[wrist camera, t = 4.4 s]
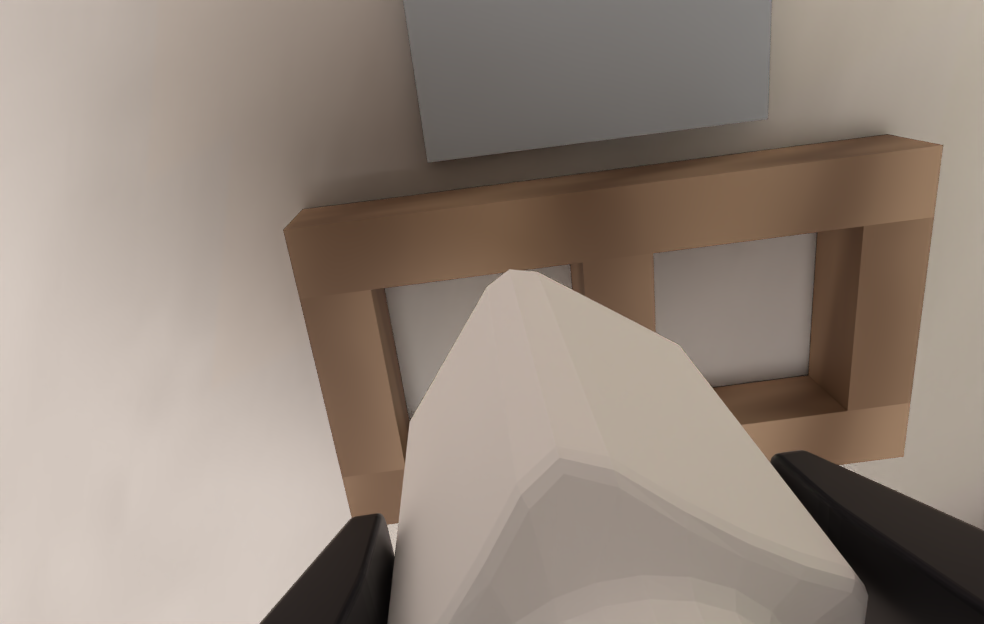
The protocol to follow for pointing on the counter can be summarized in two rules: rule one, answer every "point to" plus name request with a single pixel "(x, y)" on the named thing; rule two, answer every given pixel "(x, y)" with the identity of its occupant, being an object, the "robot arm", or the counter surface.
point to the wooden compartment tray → (640, 283)
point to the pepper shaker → (596, 484)
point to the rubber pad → (583, 70)
